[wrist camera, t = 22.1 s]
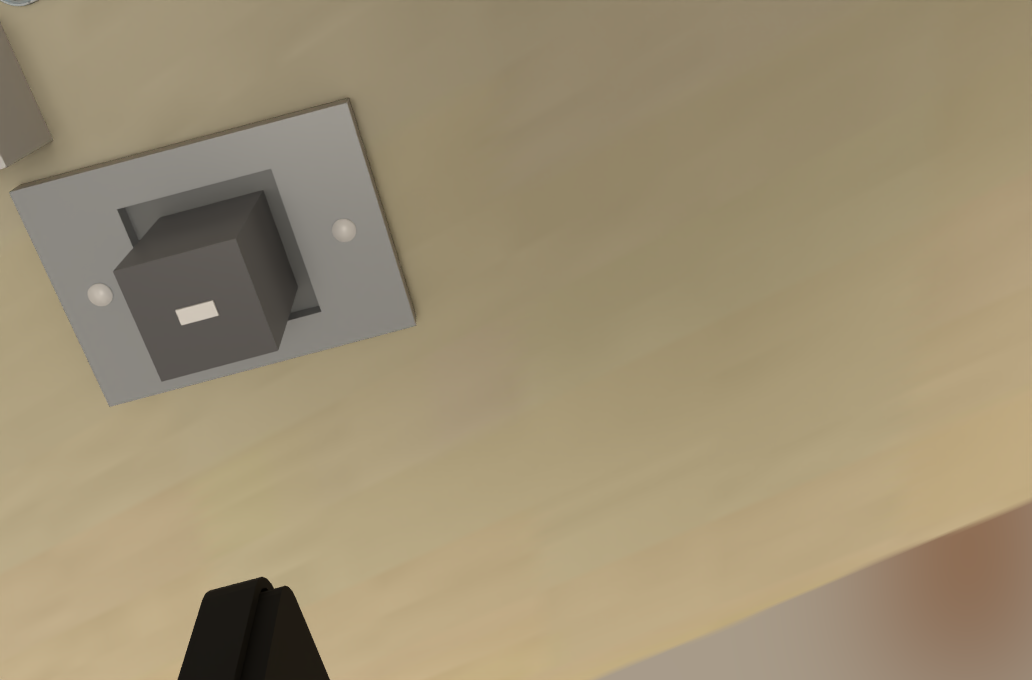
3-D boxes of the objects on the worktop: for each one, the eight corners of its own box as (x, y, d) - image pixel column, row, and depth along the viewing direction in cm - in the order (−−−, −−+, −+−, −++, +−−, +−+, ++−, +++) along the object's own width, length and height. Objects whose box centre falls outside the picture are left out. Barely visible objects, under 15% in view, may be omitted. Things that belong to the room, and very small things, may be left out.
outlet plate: (348, 97, 40) (346, 103, 39) (416, 315, 44) (416, 326, 43) (20, 185, 40) (7, 192, 39) (117, 394, 44) (108, 407, 43)
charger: (262, 189, 41) (235, 239, 34) (298, 287, 43) (277, 351, 36) (159, 217, 41) (111, 272, 34) (199, 313, 43) (160, 382, 36)
